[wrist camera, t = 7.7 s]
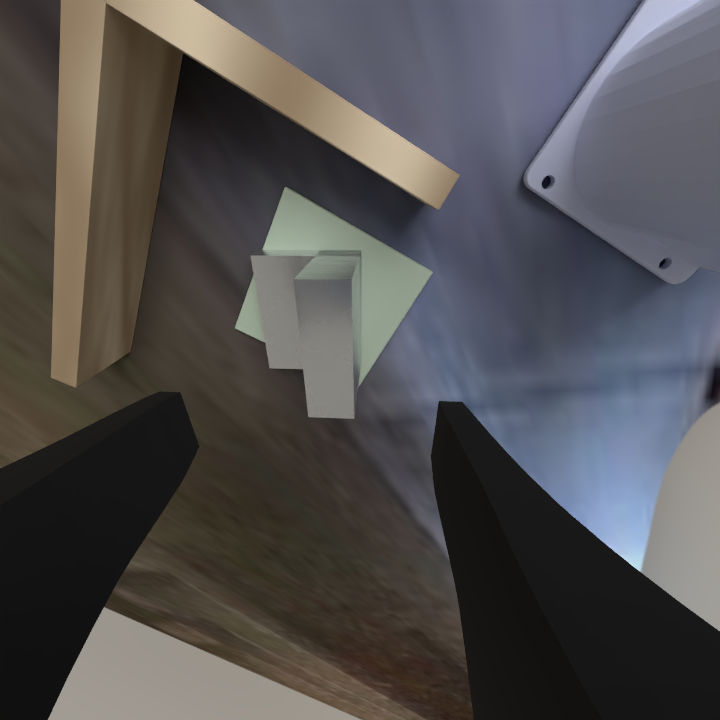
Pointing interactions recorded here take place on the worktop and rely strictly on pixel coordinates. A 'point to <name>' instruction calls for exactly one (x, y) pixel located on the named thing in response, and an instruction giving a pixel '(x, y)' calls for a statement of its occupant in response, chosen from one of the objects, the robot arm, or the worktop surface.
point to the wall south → (292, 94)
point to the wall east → (105, 180)
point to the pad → (379, 271)
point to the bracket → (314, 322)
